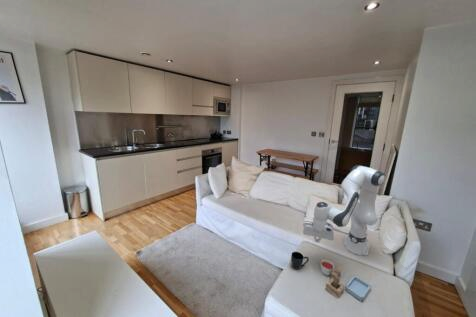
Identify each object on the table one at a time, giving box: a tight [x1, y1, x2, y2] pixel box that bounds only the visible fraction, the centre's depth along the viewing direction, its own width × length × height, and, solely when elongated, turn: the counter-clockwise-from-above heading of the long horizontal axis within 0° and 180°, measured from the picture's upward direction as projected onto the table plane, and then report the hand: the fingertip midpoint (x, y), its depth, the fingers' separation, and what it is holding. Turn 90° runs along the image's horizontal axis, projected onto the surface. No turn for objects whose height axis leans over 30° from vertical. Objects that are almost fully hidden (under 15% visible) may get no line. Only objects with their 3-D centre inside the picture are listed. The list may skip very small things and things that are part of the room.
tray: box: [344, 274, 372, 303], centre depth 124 cm, size 14×10×3 cm
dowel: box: [333, 275, 340, 289], centre depth 122 cm, size 3×3×10 cm
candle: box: [320, 259, 335, 276], centre depth 137 cm, size 9×9×6 cm
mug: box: [290, 251, 309, 271], centre depth 140 cm, size 8×12×10 cm
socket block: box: [324, 277, 346, 299], centre depth 123 cm, size 8×8×4 cm
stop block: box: [330, 267, 342, 279], centre depth 132 cm, size 8×3×5 cm, turn 129°
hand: (316, 241), depth 140 cm, fingers closed
